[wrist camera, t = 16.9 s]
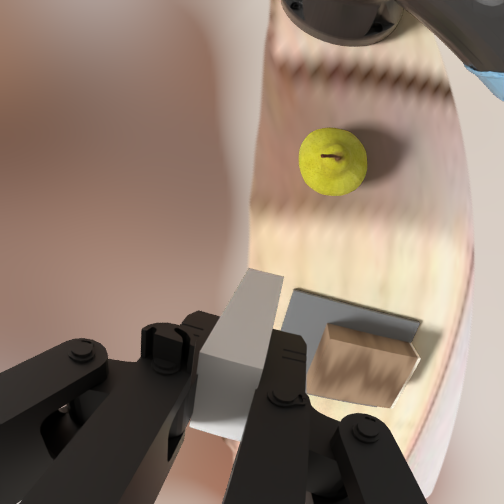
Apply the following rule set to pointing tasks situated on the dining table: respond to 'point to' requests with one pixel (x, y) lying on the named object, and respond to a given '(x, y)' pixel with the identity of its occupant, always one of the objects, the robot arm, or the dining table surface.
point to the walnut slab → (361, 367)
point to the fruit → (332, 161)
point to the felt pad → (339, 322)
